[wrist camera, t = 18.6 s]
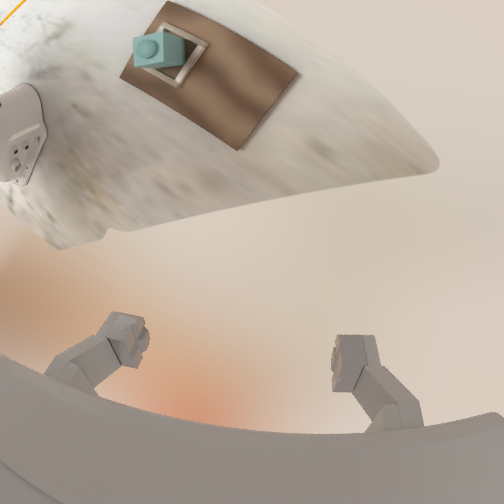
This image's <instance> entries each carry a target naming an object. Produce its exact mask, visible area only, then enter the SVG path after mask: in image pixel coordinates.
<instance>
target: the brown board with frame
mask: <svg viewBox="0 0 504 504" xmlns="http://www.w3.org/2000/svg"><path fill="white" fill-rule="evenodd" d="M162 31H164V32H167V33H170V34H172V35H175V36H178V37H180V38H183V39H185V60H186V63H185V65H181V66H173V67H167V68H161V69H157V68H141V67H134V52H133V54H132V56H131V57H130V59H129V61H128V63H127V65H126V66H125V68H124V70H123V72H122V74H121V76H120V78H121V79H122V80H124V81H126V82H128V83H130V84H131V85H133V86H135V87H137V88H138V89H140V90H142V91H144V92H145V93H147V94H149V95H150V96H152V97H154V98H155V99H157V100H159V101H160V102H162V103H164V104H165V105H167V106H169V107H170V108H172V109H174V110H175V111H177V112H178V113H180V114H182V115H183V116H185V117H186V118H188V119H190V120H191V121H193V122H194V123H196V124H197V125H199V126H200V127H202V128H204V129H205V130H207V131H208V132H210V133H211V134H213V135H214V136H216V137H217V138H219V139H220V140H222V141H223V142H225V143H226V144H228V145H229V146H231V147H232V148H233V149H235V150H236V151H238V150H239V148H240V147H241V146H242V144H243V143H244V141H245V140H246V139H247V137H248V136H249V135H250V133H251V132H252V131H253V129H254V128H255V127H256V125H257V124H258V123H259V121H260V120H261V119H262V117H263V116H264V115H265V113H266V112H267V111H268V110H269V108H270V107H271V106H272V104H273V103H274V102H275V101H276V99H277V98H278V97H279V95H280V94H281V93H282V92H283V90H284V89H285V88H286V87H287V85H288V84H289V83H290V82H291V81H292V79H293V78H294V77H295V76H296V74H297V73H298V72H296V71H295V70H294V69H292V68H291V67H289V66H288V65H286V64H285V63H283V62H282V61H280V60H279V59H277V58H276V57H274V56H273V55H271V54H269V53H268V52H266V51H265V50H263V49H262V48H260V47H258V46H257V45H255V44H253V43H252V42H250V41H248V40H247V39H245V38H243V37H241V36H240V35H238V34H236V33H234V32H232V31H231V30H229V29H227V28H225V27H223V26H221V25H219V24H217V23H215V22H213V21H211V20H209V19H207V18H205V17H203V16H201V15H199V14H197V13H195V12H193V11H191V10H188V9H186V8H184V7H182V6H179V5H177V4H175V3H172V2H170V1H167V2H166V3H165V4H164V6H163V7H162V9H161V10H160V11H159V13H158V14H157V16H156V17H155V19H154V20H153V22H152V23H151V25H150V26H149V28H148V29H147V31H146V32H145V34H144V35H148V34H152V33H157V32H162Z"/></svg>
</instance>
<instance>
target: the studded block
mask: <svg viewBox="0 0 504 504" xmlns="http://www.w3.org/2000/svg"><path fill="white" fill-rule="evenodd" d="M133 51H134V67H141V68H157V69H161V68H167V67H173V66H181V65H185V63H186V60H185V39H183V38H180V37H178V36H175V35H172V34H170V33H167V32H164V31H162V32H157V33H152V34H148V35H144V36H140V37H136V38H133Z"/></svg>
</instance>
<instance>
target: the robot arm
mask: <svg viewBox="0 0 504 504" xmlns="http://www.w3.org/2000/svg"><path fill="white" fill-rule="evenodd" d="M46 137H47V129H46V126H45V124H44V122H43V117H42V107H41V102H40V99H39V96H38V94H37V92H36V91H35V90H34V88H33V87H31V86H30V85H28V84H21V85H18V86H17V87H15V88H13V89H11V90H10V91H8V92H5V93H3V94H1V95H0V181H1V182H8V181H11V182H12V183H14V184H16V185H19V186H24V185H26V184H27V183H28V180H29V177H30V175H31V172H32V169H33V167H34V164H35V162H36V160H37V157H38V155H39V152H40V150H41V148H42V146H43V143H44V141H45V139H46ZM144 325H145V321H144V318H143V317H140V316H135V315H130V314H125V313H119V312H114V311H113V312H112V313H110V315H109V316H108V318H107V319H106V321H105V322H104V324H103V325H102V327H101V328H100V330H99V331H98V333H97V334H96V335H92V336H90V337H89V338H87V339H85V340H83V341H82V342H80V343H78V344H76V345H75V346H73V347H71V348H69V349H67V350H66V351H64V352H62V353H60V354H59V355H57V356H55V358H54V359H53V361H52V362H51V364H50V365H49V367H48V369H47V370H46V372H45V373H44V375H43V374H41V373H39V372H37V371H35V370H32V369H31V368H28V367H26V366H24V365H22V364H20V363H19V362H17V361H15V360H13V359H11V358H9V357H7V356H5V355H4V354H2V353H0V504H504V418H503V417H502V416H501V415H499V414H498V413H496V412H490V413H486V414H482V415H478V416H474V417H470V418H466V419H462V420H457V421H452V422H448V423H442V424H437V425H431V426H425V427H424V423H423V418H422V413H421V408H420V404H419V401H418V400H417V399H416V398H415V397H414V396H413V395H412V394H411V392H409V391H408V390H407V388H405V387H404V385H403V384H402V383H401V382H400V381H399V380H398V379H396V377H395V376H394V375H393V374H392V373H391V372H390V371H389V370H388V369H387V368H385V366H381V364H380V359H379V354H378V349H377V345H376V341H375V337H374V335H337V337H336V341H335V342H336V347H335V348H333V353H332V359H331V370H332V371H333V372H334V374H333V377H332V390H333V392H353V393H352V394H353V395H354V396H355V398H356V399H357V401H358V402H359V403H360V405H361V406H362V407H363V409H364V410H365V412H366V413H367V415H368V416H369V417H370V419H371V420H372V423H371V424H370V426H369V427H368V428H367V430H366V431H365V433H352V434H297V433H279V432H265V431H255V430H246V429H238V428H230V427H223V426H217V425H210V424H204V423H199V422H194V421H188V420H183V419H179V418H174V417H169V416H165V415H161V414H157V413H153V412H149V411H145V410H141V409H138V408H134V407H130V406H127V405H124V404H120V403H117V402H114V401H111V400H108V399H105V398H102V397H99V395H98V394H97V392H96V391H95V390H94V387H96V386H97V385H98V384H99V383H101V382H102V381H103V380H104V379H106V378H107V377H108V376H109V375H111V374H112V373H113V372H114V371H116V370H117V369H118V368H120V367H121V365H122V366H127V367H132V368H136V369H137V368H138V366H139V364H140V362H141V360H142V352H144V351H146V350H147V347H148V345H149V340H150V337H149V332H148V330H147V329H146V328H145V327H144Z"/></svg>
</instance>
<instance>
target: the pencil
mask: <svg viewBox="0 0 504 504" xmlns="http://www.w3.org/2000/svg"><path fill="white" fill-rule="evenodd" d="M25 1H26V0H23V1H22V2H21V3H20V4H19V5H18V6H16V7H15V8H14V9H13V10H12V11H11V12H10V13H9V15H8V16H7V17H6V18H5V19H4V20H3V21H2V22H1V23H0V25H2V24H3V23H4V22H5V21H6V20H7V19H8V18H9V17H10V16H11V15H12V14H13V13H14V12H15V11H16V10H17V9H18V8H19V7H20V6H21V5H22V4H23V3H24V2H25Z"/></svg>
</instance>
